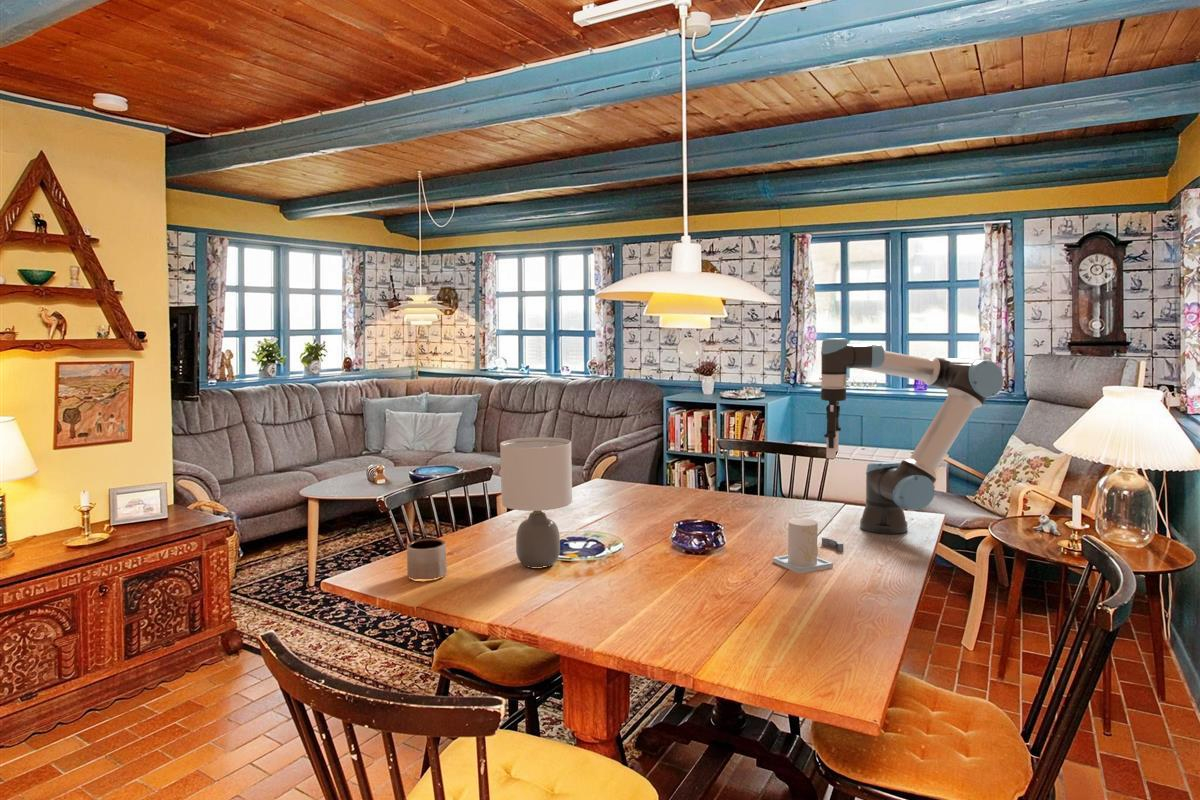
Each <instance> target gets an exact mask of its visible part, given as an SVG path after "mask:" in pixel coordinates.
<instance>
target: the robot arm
mask: <svg viewBox="0 0 1200 800" xmlns="http://www.w3.org/2000/svg"><path fill="white" fill-rule="evenodd" d="M820 354H821V357H820V358H821V359H820V360H821V376H819V378H818V379H819V380H820V384H821V387H822V388H821V389H820V399H821V401H825V402H826V401H828V404H827V405H826V408H825V411H826V420H827V421H826V433H825V434H823V435H824V438H826V453H825V454H826V457H825V458H826V459H830V460H831V459H832V460H833V459H835V460H836V458H837V456H836V455H837V452H839V442H840V441H839V437H840V436H839V434H840V432H841V431H842V427H840V421H839V419H840V412H841V406H840V405H839V404H840V402H844V401H846V400H847V389H846V387H847V376H848V374H847V369H856V370H857V369H858V370H863V371H868V372H873V373H879V374H885V375H890V376H895V377H901V378H907V379H912V380H916V381H922V382H923V383H924V384H925V385H927V386H931V387H936V388H938V389H943V390H946V393H947V397H946V399H945V401H943V404H942V405H941V406H940V408H939V410H938V412H937V413H936V415H935V417H934V418H933V420H932V421H931V423H930V424H929V426H928V428H927V429H926V431H925V432H924V434H923V436H922V438H921V439H920V440H919V442H918V443H917V446H916V447H915V448H914V450H913V452H912V454H911V455H910V457H909V458H906V459H902V460H901V461H871V462H869V463H868V464H867V466H866V472H865V474H866V477H865V478H866V479H865V481H866V483H865V487H866V488H865V506H864V509H863V513H862V517H861V518H860V519H859V521H860V523H859V524H860V525H859V527H860V528H861V529H862V530H863V531H866V532H870V533H873V534H874V533H875V534H884V535H898V534H905V533H906V532H908V521H907V520H906V516H905V512H904V510H908V511H920V510H923V509H925V508H927V507H928V506H929V505H930V504H931V503H932V501H933V500H934V498H935V494H936V491H935V489H936V488H935V485H934V484H935V482H936V481H937V479H938V478H937V475H936V471H937V470H938V468H939V466H940V465H941V463H942V462H943V459H945V457H946V455H947V453H948V452H949V450H950V448H951V447H952V445H953V444H954V442H955V440H956V439H957V437H958V436H959V434H960V432H961V431H962V429H963V427H965V424H966V423H967V421H968V420H969V418H970V416H971V415H972V413H973V411H974V410H975V409H976V408H977V409H979V408H982V407H983V404H984V403H985V402H986V400H987V398H992V397H993V396H997V394H999V393H1000V391H1001V390H1002V388H1003V384H1004V375H1003V371H1002V369H1001V367H1000V366H999V364H997V363H996V362H994V361H992V360H988V359H985V358H984V359H983V358H978V359H977V358H976V359H975V358H963V357H959V358H956V357H955V358H954V357H953V358H951V357H950V358H947V357H945V358H944V357H943V358H942V357H936V356H931V357H928V358H924V357H921V356H920V357H919V356H914V355H910V354H904V353H897V352H893V351H889V350H885V349H884V347H883V345H881V344H879V343H848V340H847V338H842V337H840V338H839V337H837V338H835V337H834V338H829V337H828V338H824V339H823V340H822V342H821V351H820Z"/></svg>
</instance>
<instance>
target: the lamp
mask: <svg viewBox="0 0 1200 800" xmlns="http://www.w3.org/2000/svg"><path fill="white" fill-rule="evenodd" d="M499 446H500V447H499V448H500V449H499V450H500V452H499V453H500V454H499V455H500V456H499V457H500V484H501V506H502V507H504V508H507V509H510V510H514V511H524V512H525V511H527V512H530V511H531V513H529V514H528V517H527V519H525V520H523V521H522V522H521V523H520V525H518V528H517V530H516V538H515V541H516V542H515V551H516V556H517V559H518V561H519V562H520V564H522V565H523V566H524V565H525V566H524V567H526V566H529V567H543V566H549V565H551V566H553V565H554V564H555V563H556V562H557V560H558V558H559V556H560V552H561V538H560V530H559V528H558V526H557V524H556V523H555V521H554V520H552V519H550V518H548V517H547V515H546V513H545V512H544V511H550V510H551V511H552V510H556V509H562V508H564V507H568V506H569V505H571V504H572V503H573V474H572V473H573V470H572V469H573V467H572V465H573V464H572V463H573V462H572V441H571V440H570V439H565V438H561V437H551V436H550V437H547V436H546V437H544V436H543V437H539V436H537V437H535V436H533V437H521V438H513V439H509V440H508V439H507V440H504V441H501V442H500V443H499ZM552 564H553V565H552ZM549 567H550V566H549Z"/></svg>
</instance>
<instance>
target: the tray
mask: <svg viewBox="0 0 1200 800" xmlns="http://www.w3.org/2000/svg"><path fill="white" fill-rule="evenodd" d="M772 563H774V564H776V565H778V566H780V567H782V568H785V569H788V570H790V571H791V572H794V573H796V574H799V575H801V574H806V573H811V572H812V573H813V572H817V571H822V570H823V571H824V570H828V569H829V570H830V569H833V568H834V563H833V562H831V561H830V560H826V559H823V558H821V557H819V556H817V564H816V565H813V566H808V567H801V566H795V565H792V564H790V563H789V562H788V554H786V555H780V556H773V557H772Z"/></svg>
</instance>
